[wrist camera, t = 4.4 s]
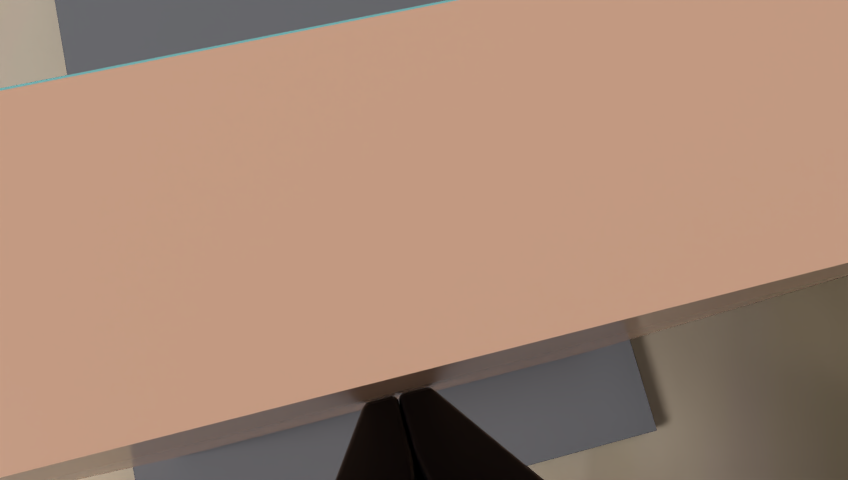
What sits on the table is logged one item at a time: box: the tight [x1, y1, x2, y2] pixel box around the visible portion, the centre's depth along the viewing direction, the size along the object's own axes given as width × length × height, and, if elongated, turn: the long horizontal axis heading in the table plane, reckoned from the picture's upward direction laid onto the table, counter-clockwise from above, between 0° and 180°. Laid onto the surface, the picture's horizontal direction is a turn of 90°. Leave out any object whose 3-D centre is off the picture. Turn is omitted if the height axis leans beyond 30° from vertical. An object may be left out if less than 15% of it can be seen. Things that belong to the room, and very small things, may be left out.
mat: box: [55, 0, 657, 480], centre depth 17 cm, size 19×11×1 cm, turn 14°
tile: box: [0, 0, 848, 480], centre depth 10 cm, size 2×9×12 cm, turn 104°
